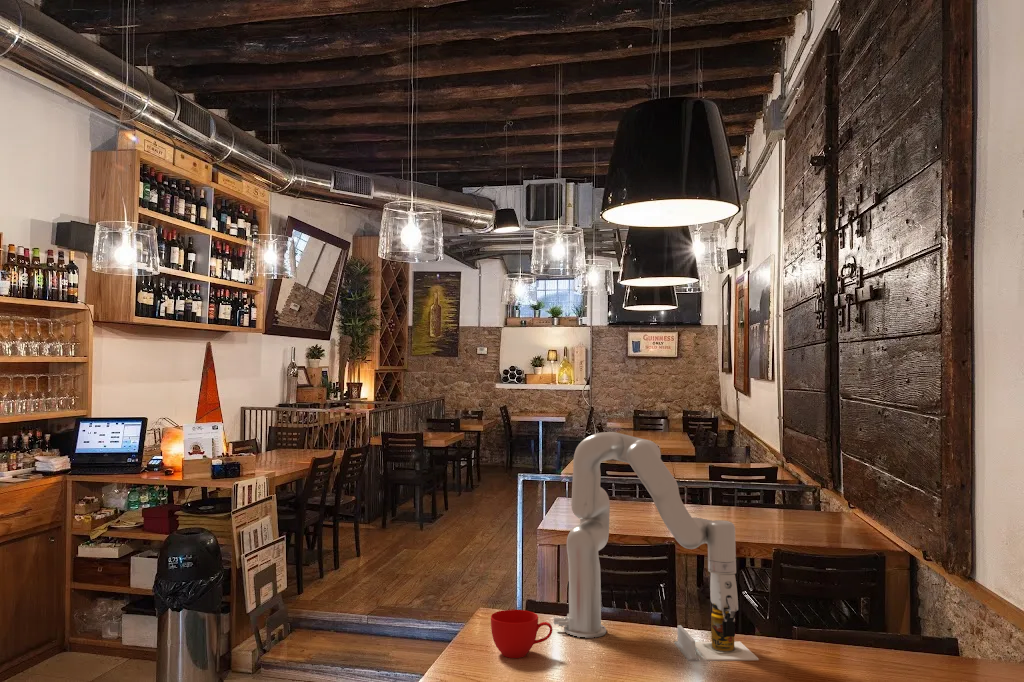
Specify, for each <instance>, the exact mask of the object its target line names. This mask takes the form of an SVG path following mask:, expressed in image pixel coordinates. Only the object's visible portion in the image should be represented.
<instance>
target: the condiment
mask: <svg viewBox="0 0 1024 682" xmlns="http://www.w3.org/2000/svg"><path fill="white" fill-rule="evenodd" d="M712 606H713V609H712V608H711V611H712V612H713V613H712V612H711V615H710V618H711V619H710V620H711V621H710V622H711V623H710V625H711V626H710V628H711V631H710V633H711V636H710V637H711V638H710V639H711V642H712V643H707V644H703V645H705V646H707V647H708V648H710V649H711V650H713V651H715V652H717V653H730V652H737V651H741V650H739V649H737V648H735V647H734V642H735V636H734V637H724V636H723V626H722V621H724V619H723V614H722V611H721V610H719V609H718V608H717V606H716V605H715V604H714V603H713V604H712ZM712 606H711V607H712ZM724 609H729V608H724ZM726 616H727V613H726Z"/></svg>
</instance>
